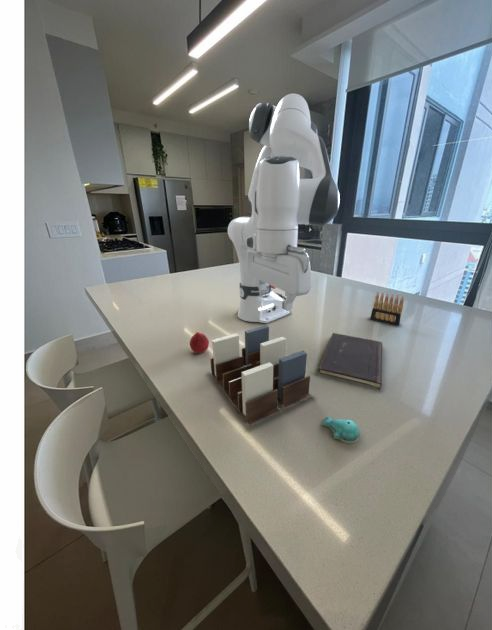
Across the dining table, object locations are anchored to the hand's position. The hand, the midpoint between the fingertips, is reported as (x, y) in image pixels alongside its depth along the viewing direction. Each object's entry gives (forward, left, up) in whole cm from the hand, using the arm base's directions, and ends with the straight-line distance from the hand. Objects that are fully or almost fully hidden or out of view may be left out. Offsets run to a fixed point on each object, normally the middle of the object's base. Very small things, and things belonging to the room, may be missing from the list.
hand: (274, 302), depth 61 cm
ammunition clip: (-59, -7, -23) cm, 64 cm away
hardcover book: (-26, +5, -23) cm, 35 cm away
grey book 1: (0, -8, -21) cm, 23 cm away
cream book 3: (0, 0, -21) cm, 21 cm away
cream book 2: (+9, +8, -21) cm, 25 cm away
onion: (+12, -23, -23) cm, 34 cm away
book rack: (+5, 0, -22) cm, 23 cm away
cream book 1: (+9, -8, -21) cm, 25 cm away
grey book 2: (0, +8, -21) cm, 23 cm away
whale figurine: (-2, +22, -23) cm, 32 cm away
